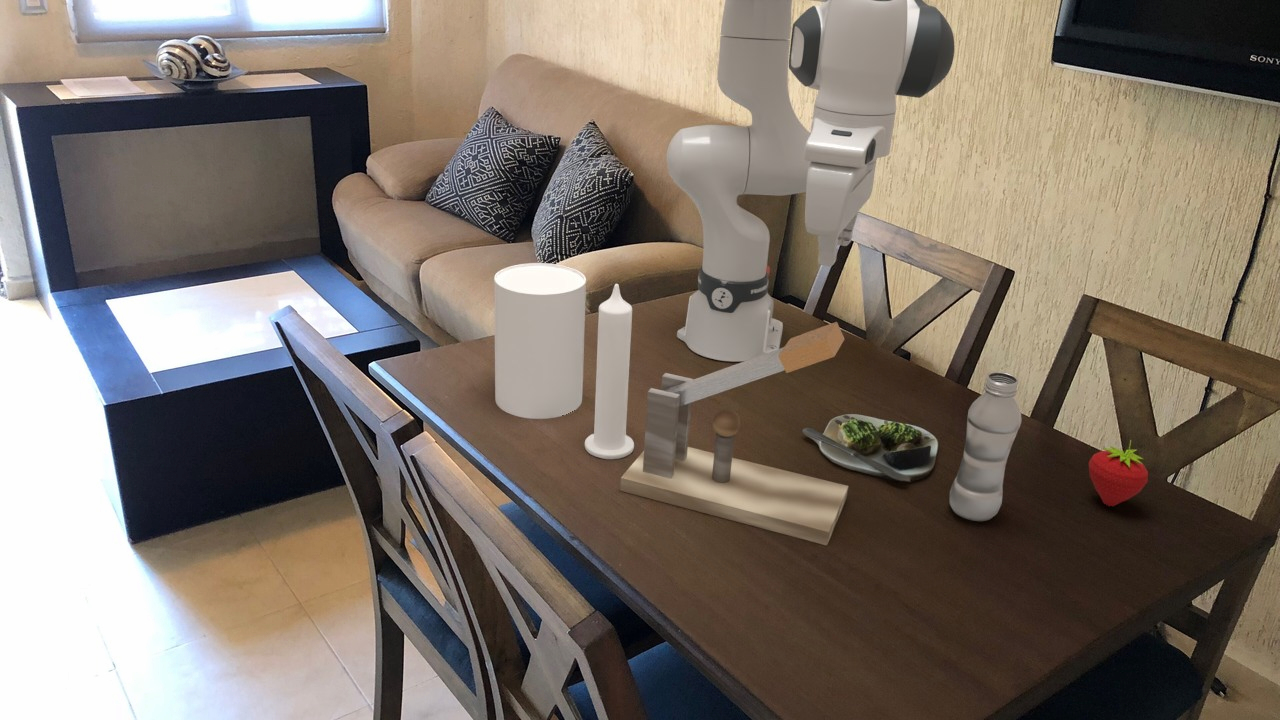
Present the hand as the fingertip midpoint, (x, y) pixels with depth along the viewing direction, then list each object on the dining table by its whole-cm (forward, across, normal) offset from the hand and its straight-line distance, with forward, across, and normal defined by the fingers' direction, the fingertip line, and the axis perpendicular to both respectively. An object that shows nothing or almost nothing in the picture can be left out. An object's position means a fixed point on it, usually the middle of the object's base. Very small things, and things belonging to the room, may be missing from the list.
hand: (834, 253), depth 117 cm
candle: (+36, -4, -29) cm, 46 cm away
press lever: (+18, 0, -9) cm, 20 cm away
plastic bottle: (+36, -10, +21) cm, 43 cm away
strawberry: (+36, -21, +38) cm, 56 cm away
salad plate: (+36, -21, +7) cm, 42 cm away
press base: (+35, 0, -9) cm, 37 cm away
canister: (+36, -13, -45) cm, 59 cm away
